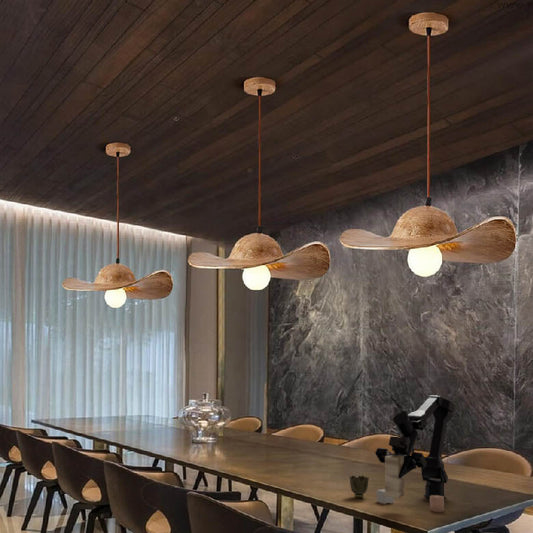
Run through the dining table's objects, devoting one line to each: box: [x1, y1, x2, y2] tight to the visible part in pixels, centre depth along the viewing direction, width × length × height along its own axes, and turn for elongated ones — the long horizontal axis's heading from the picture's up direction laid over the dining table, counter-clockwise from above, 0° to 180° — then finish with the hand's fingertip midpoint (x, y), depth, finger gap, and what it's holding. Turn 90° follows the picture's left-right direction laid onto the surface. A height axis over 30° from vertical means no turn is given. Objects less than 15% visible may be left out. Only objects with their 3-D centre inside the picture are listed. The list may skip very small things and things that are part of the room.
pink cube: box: [429, 495, 445, 513], centre depth 260 cm, size 5×5×5 cm
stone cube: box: [376, 488, 395, 505], centre depth 272 cm, size 4×4×4 cm
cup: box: [349, 475, 369, 499], centre depth 279 cm, size 8×7×8 cm
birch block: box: [384, 455, 405, 499], centre depth 258 cm, size 5×5×14 cm
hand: (392, 476), depth 257 cm, fingers closed on birch block, 5 cm apart
